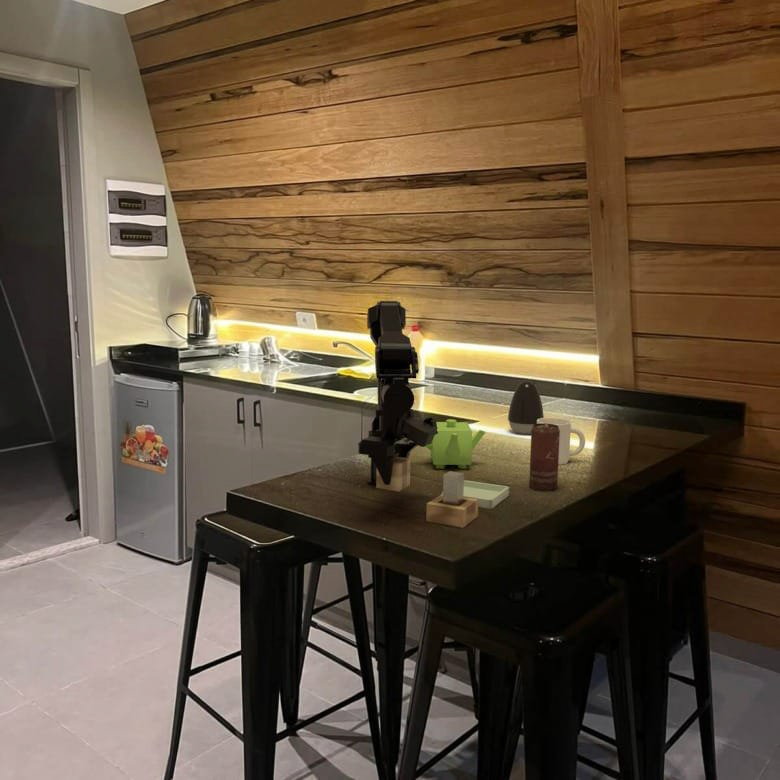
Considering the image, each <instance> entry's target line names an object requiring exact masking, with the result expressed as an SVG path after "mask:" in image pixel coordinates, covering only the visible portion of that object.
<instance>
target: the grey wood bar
mask: <svg viewBox="0 0 780 780" xmlns="http://www.w3.org/2000/svg"><path fill="white" fill-rule="evenodd" d="M464 480H465V473H464V472H460V471H459V472H458V471H452V470H451V471H450V470H449V471H448V472H446V473H443V480H442V481H443V483H442V484H443V485H442V492H443V504H447V505H453V506H461V505H462V504H463V493H464Z"/></svg>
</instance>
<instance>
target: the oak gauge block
mask: <svg viewBox="0 0 780 780" xmlns="http://www.w3.org/2000/svg"><path fill="white" fill-rule="evenodd" d="M425 515H426V518H425V519H426V522H428V523H435V524H440V525H444V526H445V525H446V526H452V527H457V528H462V529H463V528H465V527H466V526H467V525H469V524H470V523H472V522H473V521H474V520H475V519H477V518H478V517H479V507H478V499H474V498H467V497H463V504H462V505H461V506H453V505H447V504H443V494H442V493H441V494H440V495H438V496H437V497H434V498H433V499H432V500H430V501H429V502H427V503H426V514H425Z"/></svg>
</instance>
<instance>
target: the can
mask: <svg viewBox="0 0 780 780" xmlns="http://www.w3.org/2000/svg"><path fill="white" fill-rule="evenodd" d="M559 438H560V430H559V428H558V426H557V425H554V424H547V423H541V424H534V425H533V428H532V429H531V434H530V457H529V458H530V460H529V486H530V488H532V489H533V490H536V491H543V492H545V491H547V492H549V491H554V490H556V489H557V487H558V480H559V478H558V477H559V476H558V475H559V465H558V460H559Z"/></svg>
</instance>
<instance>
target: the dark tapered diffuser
mask: <svg viewBox="0 0 780 780" xmlns="http://www.w3.org/2000/svg"><path fill="white" fill-rule="evenodd" d="M536 384H537V383H536V381H529V380H525V381H522V382H520V383H519V384H518V386H517V387H516V388H515V390H514V392H513V395H512V399H511V401H510V404H509V409H508V415H507V420H508V424H509V426H510V429H512V431H513V432H515V433H517V434H520V435H531V429H532V428H533V425H534V424H537V420H538V419H540V418H545V417H544V408H543V407H544V406H543V402H542V399H541V394H540V392H539V390H538V387H537V385H536Z"/></svg>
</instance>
